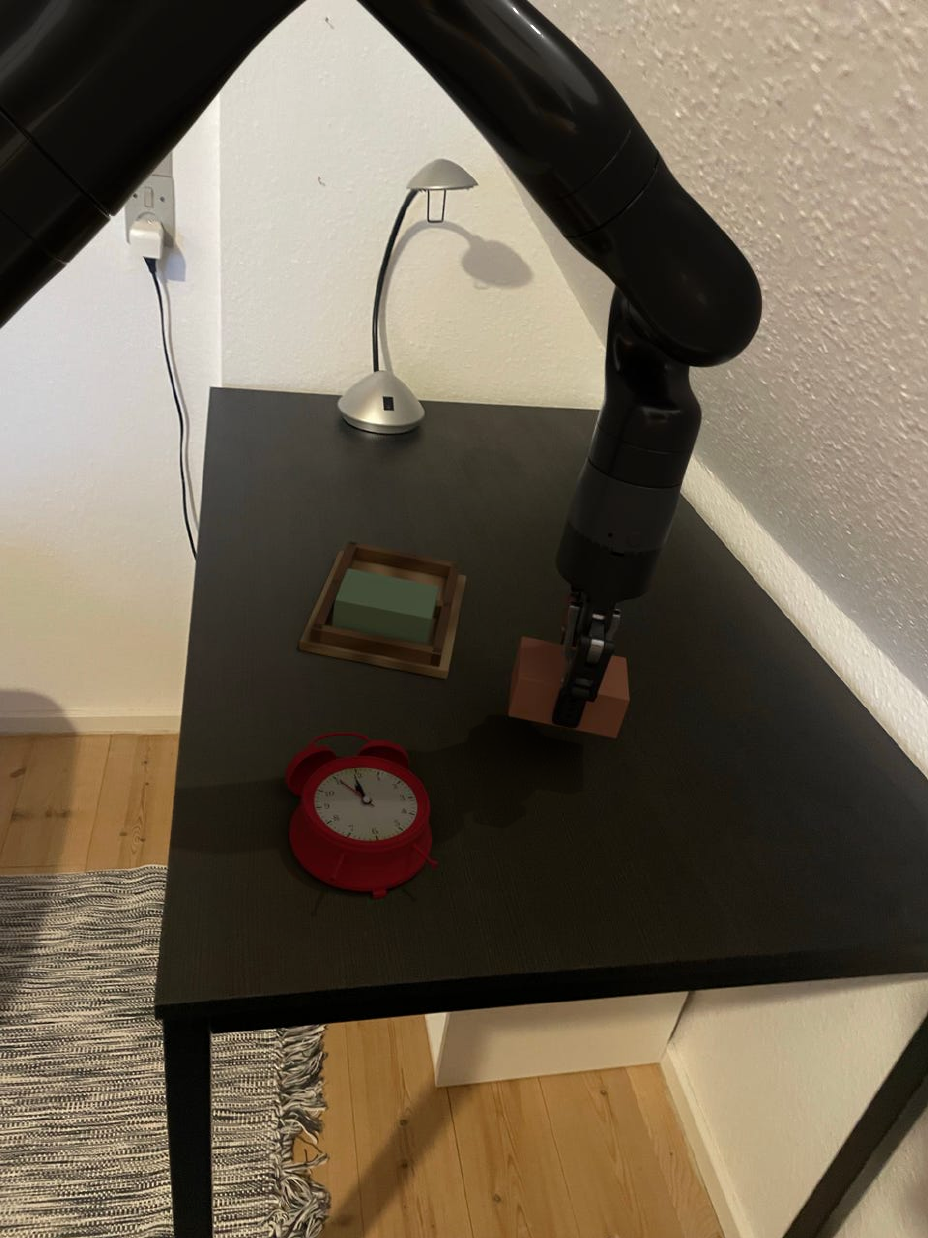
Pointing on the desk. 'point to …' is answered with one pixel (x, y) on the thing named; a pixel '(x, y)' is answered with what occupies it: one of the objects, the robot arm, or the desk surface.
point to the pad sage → (385, 606)
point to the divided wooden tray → (383, 649)
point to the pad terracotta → (541, 685)
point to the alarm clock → (359, 816)
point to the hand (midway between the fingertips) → (564, 699)
